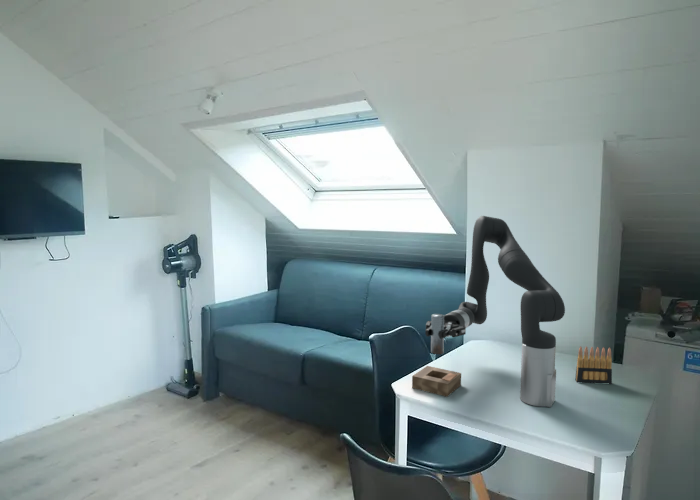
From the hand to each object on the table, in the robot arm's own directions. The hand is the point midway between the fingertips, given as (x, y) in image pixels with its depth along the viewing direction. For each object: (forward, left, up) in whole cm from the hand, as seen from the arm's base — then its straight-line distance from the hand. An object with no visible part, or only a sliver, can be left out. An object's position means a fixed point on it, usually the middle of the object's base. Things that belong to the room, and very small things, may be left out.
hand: (433, 334), depth 145 cm
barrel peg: (0, -3, -6) cm, 7 cm away
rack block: (0, -3, -18) cm, 18 cm away
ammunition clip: (-41, -35, -18) cm, 57 cm away
